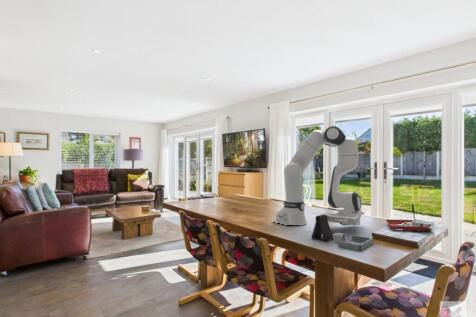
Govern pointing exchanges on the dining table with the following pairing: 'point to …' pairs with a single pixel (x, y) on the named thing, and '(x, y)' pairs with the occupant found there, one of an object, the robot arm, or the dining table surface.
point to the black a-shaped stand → (322, 229)
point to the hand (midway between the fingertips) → (332, 221)
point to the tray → (364, 245)
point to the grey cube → (339, 237)
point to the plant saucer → (394, 226)
